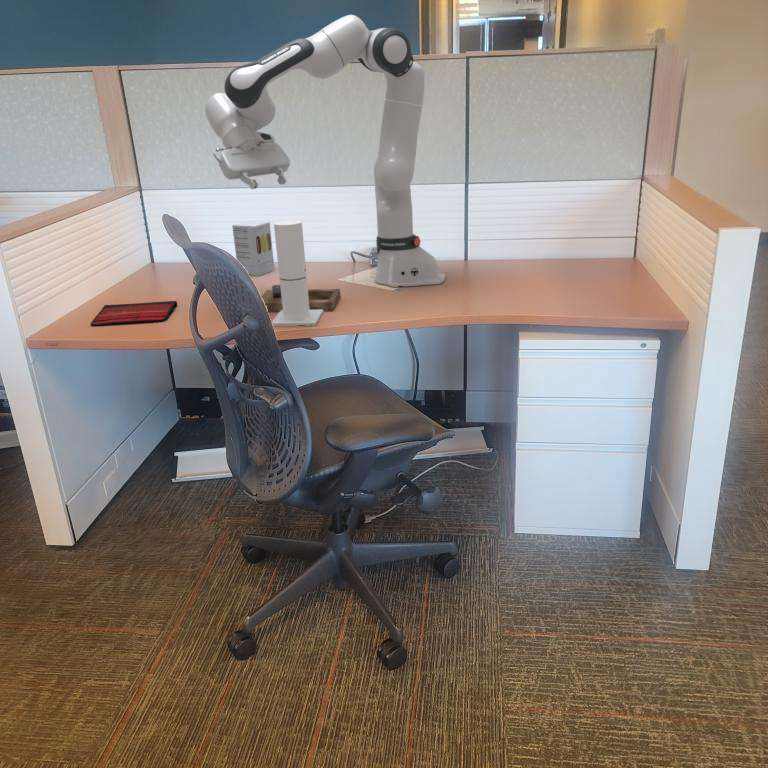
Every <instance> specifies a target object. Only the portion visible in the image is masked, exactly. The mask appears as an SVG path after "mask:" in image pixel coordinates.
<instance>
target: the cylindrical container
mask: <svg viewBox="0 0 768 768" xmlns="http://www.w3.org/2000/svg"><path fill="white" fill-rule="evenodd" d="M273 228H274V230H273V231H274V238H275V239H274V240H275V249H276V257H277V265H278V266H277V269H278V276H279V285H280V288H281V297H282V307H283V316H284V318H285V319H287V320H301V319H305V318H308V317H309V316H310V309H309V301H310V299H309V298H308V289H309V288H308V287H309V286H308V277H307V268H306V267H307V265H306V264H307V263H306V255H305V245H304V243H305V242H304V232H303V231H304V230H303V223H302V220H297V219H287V220H280V221H279V220H278V221H275V222H274V223H273Z"/></svg>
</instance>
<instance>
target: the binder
mask: <svg viewBox="0 0 768 768" xmlns="http://www.w3.org/2000/svg"><path fill="white" fill-rule="evenodd" d="M174 307H178V301H177V300H169V301H166V300H165V301H151V302H140V303H139V302H138V303H136V302H135V303H124V304H123V303H121V304H119V303H118V304H105V305H103V307H102V308H101V310H100V311H99V312H98V313H97V315H96V316H95V317H94V318H93V319H92V321H90V326H91V327H103V326H117V325H130V324H131V325H132V324H145V323H147V324H148V323H151V324H157V323H159V322H160V323H164V322H166V321H168V320H169V318H170V317H171V316H172V315H173V313H174V312H175V310H172V309H174ZM171 310H172V311H171Z"/></svg>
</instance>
